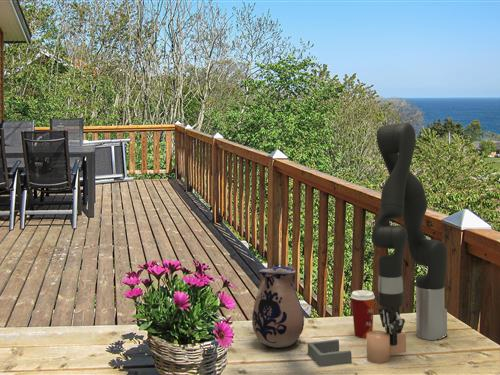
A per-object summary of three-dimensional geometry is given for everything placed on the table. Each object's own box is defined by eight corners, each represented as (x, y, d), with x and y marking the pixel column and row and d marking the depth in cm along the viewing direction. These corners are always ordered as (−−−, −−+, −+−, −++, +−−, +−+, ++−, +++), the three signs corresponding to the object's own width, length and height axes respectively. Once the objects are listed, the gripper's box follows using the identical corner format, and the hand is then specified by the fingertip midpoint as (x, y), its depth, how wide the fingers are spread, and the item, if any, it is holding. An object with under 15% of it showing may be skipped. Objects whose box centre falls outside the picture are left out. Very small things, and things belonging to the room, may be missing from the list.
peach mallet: (399, 352, 188) (399, 327, 187) (410, 360, 181) (410, 334, 180) (363, 357, 185) (362, 332, 184) (373, 365, 178) (372, 339, 177)
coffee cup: (375, 339, 199) (375, 296, 198) (351, 338, 201) (350, 295, 200) (375, 331, 208) (374, 289, 206) (351, 330, 209) (351, 289, 208)
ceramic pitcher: (244, 349, 194) (242, 275, 192) (267, 329, 214) (265, 261, 212) (295, 355, 188) (293, 278, 186) (314, 334, 207) (312, 263, 205)
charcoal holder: (337, 349, 191) (337, 339, 191) (351, 362, 180) (351, 351, 180) (307, 353, 189) (307, 342, 189) (320, 366, 178) (319, 355, 178)
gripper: (412, 294, 175) (413, 350, 177) (391, 282, 189) (392, 335, 191) (389, 296, 174) (390, 353, 176) (369, 285, 187) (371, 338, 189)
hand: (391, 343), depth 183 cm, fingers closed on peach mallet
